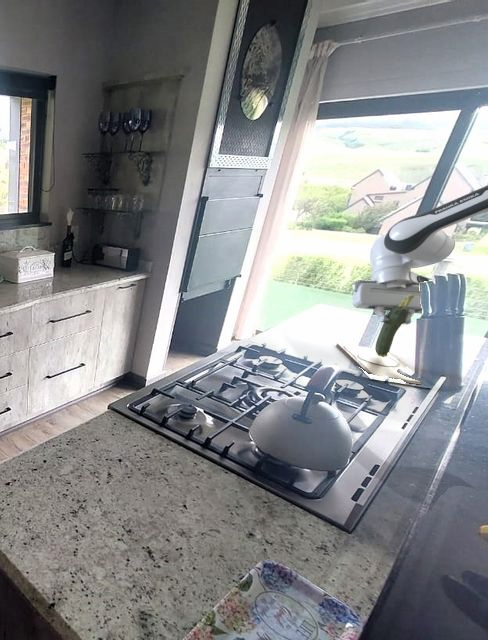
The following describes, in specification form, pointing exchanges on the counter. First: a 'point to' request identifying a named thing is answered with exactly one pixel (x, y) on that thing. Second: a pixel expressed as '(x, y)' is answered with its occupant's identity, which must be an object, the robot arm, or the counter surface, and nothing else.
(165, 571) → the counter surface
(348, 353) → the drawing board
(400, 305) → the vegetable
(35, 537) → the counter surface
